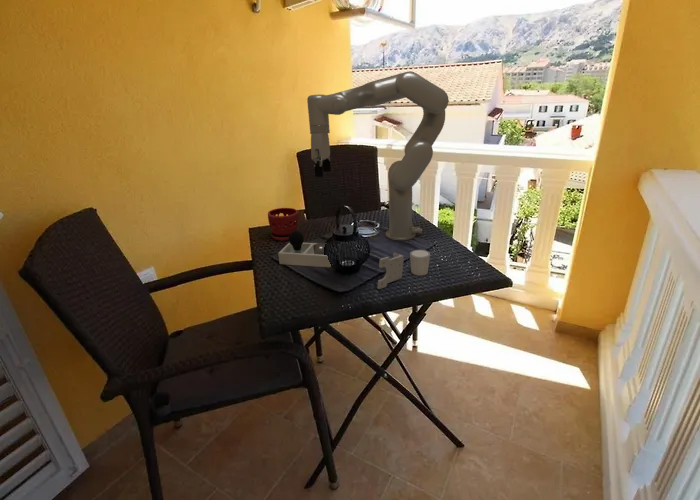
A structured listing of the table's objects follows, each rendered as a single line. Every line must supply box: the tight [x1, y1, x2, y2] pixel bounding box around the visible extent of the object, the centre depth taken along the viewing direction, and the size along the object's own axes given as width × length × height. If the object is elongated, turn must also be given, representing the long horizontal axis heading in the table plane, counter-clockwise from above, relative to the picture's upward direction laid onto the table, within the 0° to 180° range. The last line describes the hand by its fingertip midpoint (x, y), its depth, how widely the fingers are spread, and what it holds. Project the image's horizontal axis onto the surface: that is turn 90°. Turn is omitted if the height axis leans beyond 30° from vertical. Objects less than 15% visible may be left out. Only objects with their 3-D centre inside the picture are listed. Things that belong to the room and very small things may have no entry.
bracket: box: [377, 252, 405, 290], centre depth 122 cm, size 11×4×10 cm, turn 133°
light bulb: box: [288, 230, 305, 253], centre depth 142 cm, size 6×6×10 cm
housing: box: [277, 241, 332, 268], centre depth 142 cm, size 20×11×6 cm, turn 75°
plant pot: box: [267, 207, 300, 241], centre depth 164 cm, size 13×13×12 cm
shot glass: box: [409, 249, 431, 276], centre depth 128 cm, size 7×7×7 cm
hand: (323, 173), depth 150 cm, fingers open, 9 cm apart
